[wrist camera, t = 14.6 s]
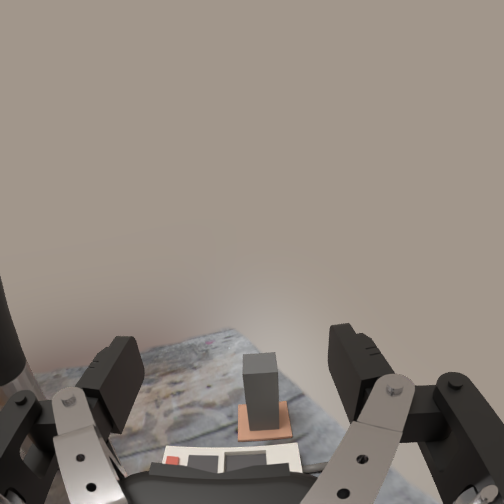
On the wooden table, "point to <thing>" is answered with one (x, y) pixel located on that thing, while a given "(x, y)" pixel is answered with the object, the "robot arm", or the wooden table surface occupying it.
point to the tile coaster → (248, 435)
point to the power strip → (238, 458)
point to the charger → (261, 391)
